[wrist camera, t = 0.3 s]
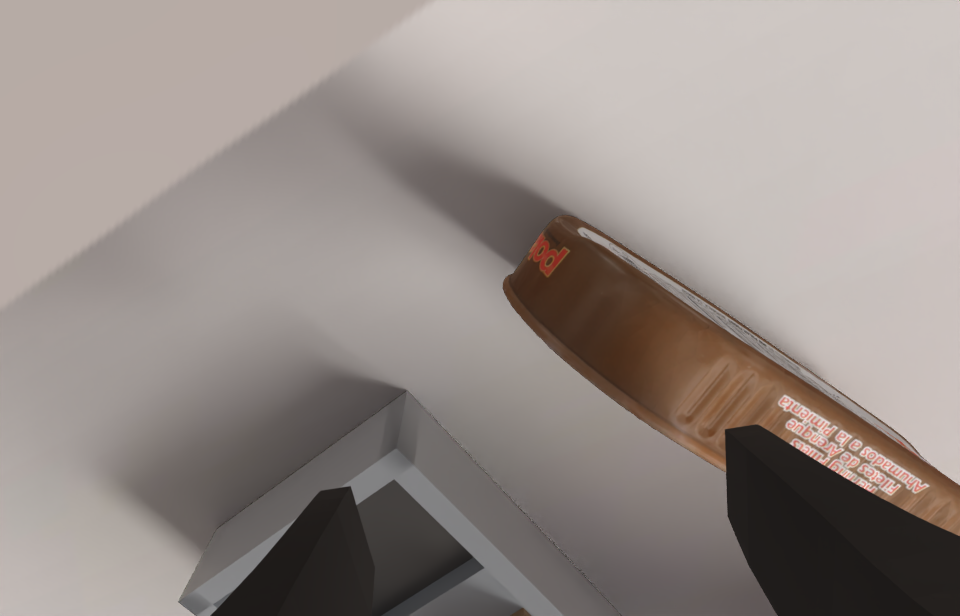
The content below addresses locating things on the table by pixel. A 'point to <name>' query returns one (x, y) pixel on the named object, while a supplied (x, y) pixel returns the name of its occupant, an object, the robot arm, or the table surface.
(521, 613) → the walnut block
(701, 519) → the table surface
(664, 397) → the tin
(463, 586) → the trap channel
